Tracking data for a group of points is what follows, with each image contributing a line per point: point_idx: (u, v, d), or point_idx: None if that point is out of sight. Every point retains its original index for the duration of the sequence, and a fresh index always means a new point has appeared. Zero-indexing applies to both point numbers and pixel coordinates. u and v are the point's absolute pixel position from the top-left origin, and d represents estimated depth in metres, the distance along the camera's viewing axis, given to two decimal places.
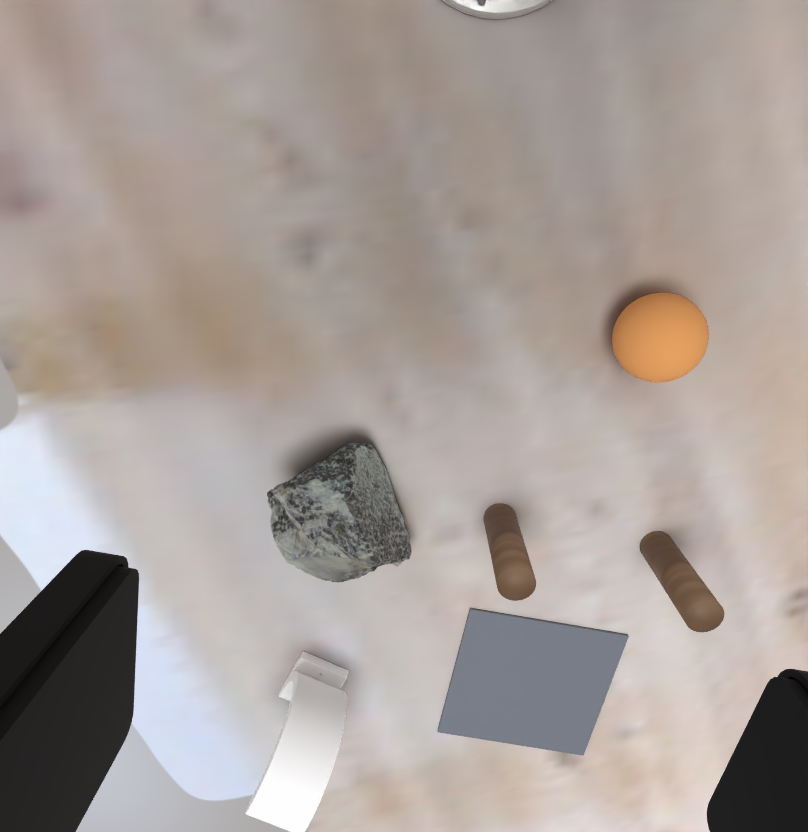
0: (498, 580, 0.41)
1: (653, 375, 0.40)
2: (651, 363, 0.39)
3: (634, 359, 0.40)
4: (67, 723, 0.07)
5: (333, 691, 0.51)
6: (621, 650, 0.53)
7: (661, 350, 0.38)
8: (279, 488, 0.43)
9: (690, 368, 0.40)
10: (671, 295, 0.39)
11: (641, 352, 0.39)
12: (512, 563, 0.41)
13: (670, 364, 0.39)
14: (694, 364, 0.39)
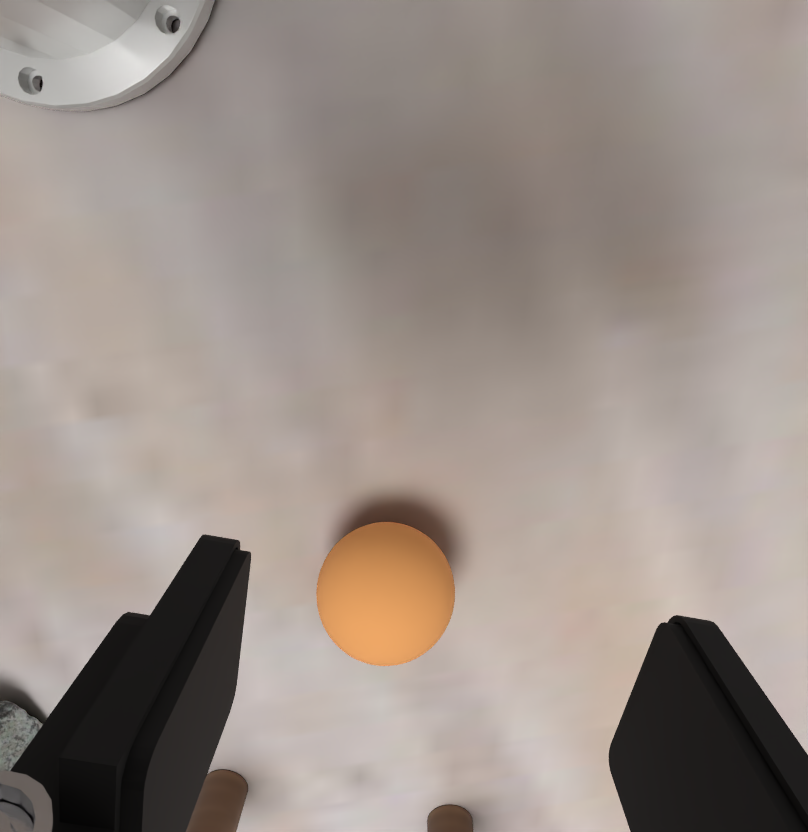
0: None
1: (364, 662, 0.25)
2: (352, 652, 0.25)
3: (333, 639, 0.25)
4: (208, 686, 0.08)
5: None
6: None
7: (360, 640, 0.24)
8: None
9: (419, 654, 0.25)
10: (388, 540, 0.25)
11: (336, 635, 0.25)
12: None
13: (379, 657, 0.24)
14: (424, 650, 0.25)
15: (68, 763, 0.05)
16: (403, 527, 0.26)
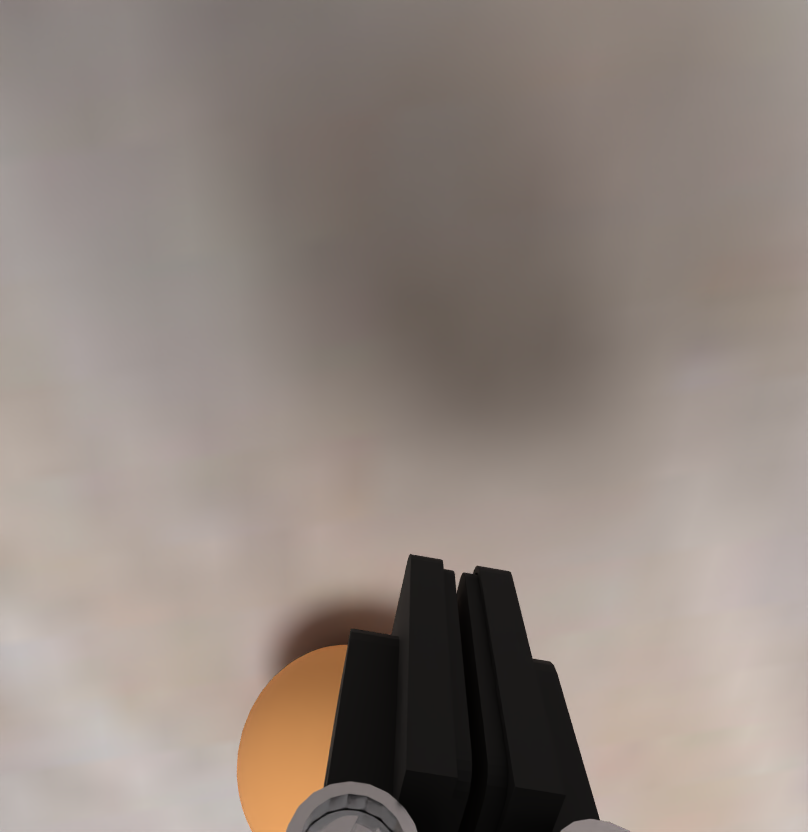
0: None
1: None
2: None
3: None
4: None
5: None
6: None
7: None
8: None
9: None
10: None
11: None
12: None
13: None
14: None
15: (413, 775, 0.06)
16: None
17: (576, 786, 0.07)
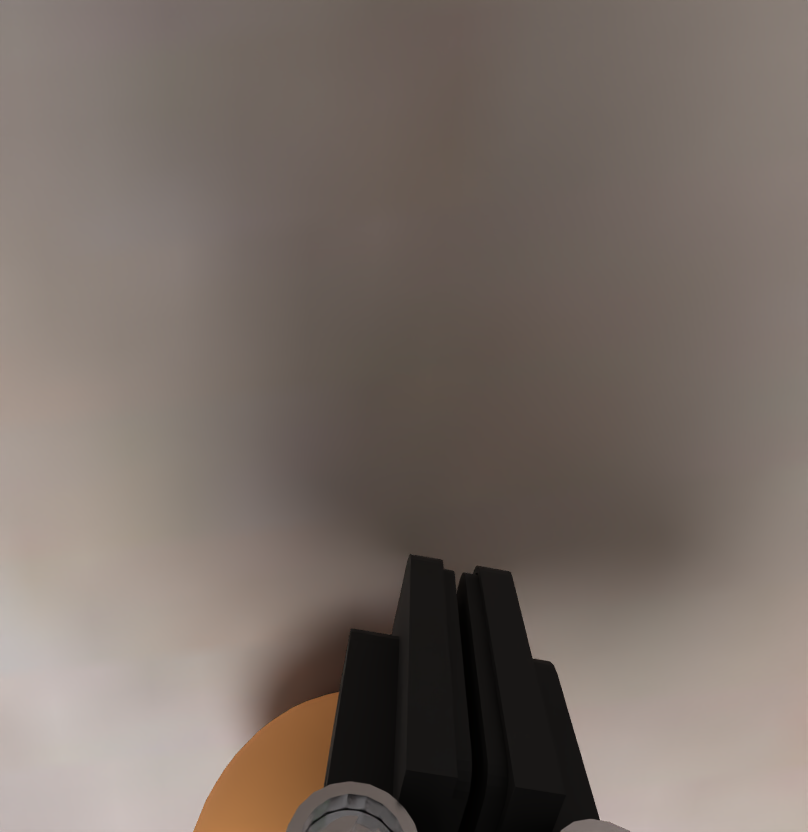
0: None
1: None
2: None
3: None
4: None
5: None
6: None
7: None
8: None
9: None
10: None
11: None
12: None
13: None
14: None
15: (413, 775, 0.06)
16: None
17: (577, 787, 0.07)
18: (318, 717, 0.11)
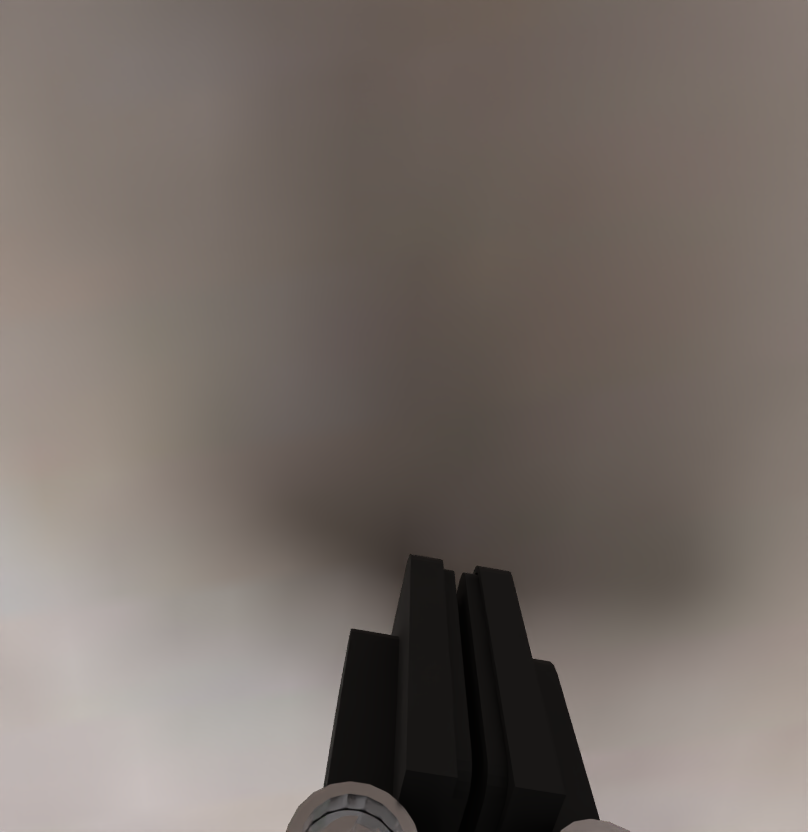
0: None
1: None
2: None
3: None
4: None
5: None
6: None
7: None
8: None
9: None
10: None
11: None
12: None
13: None
14: None
15: (412, 775, 0.06)
16: None
17: (577, 786, 0.07)
18: None
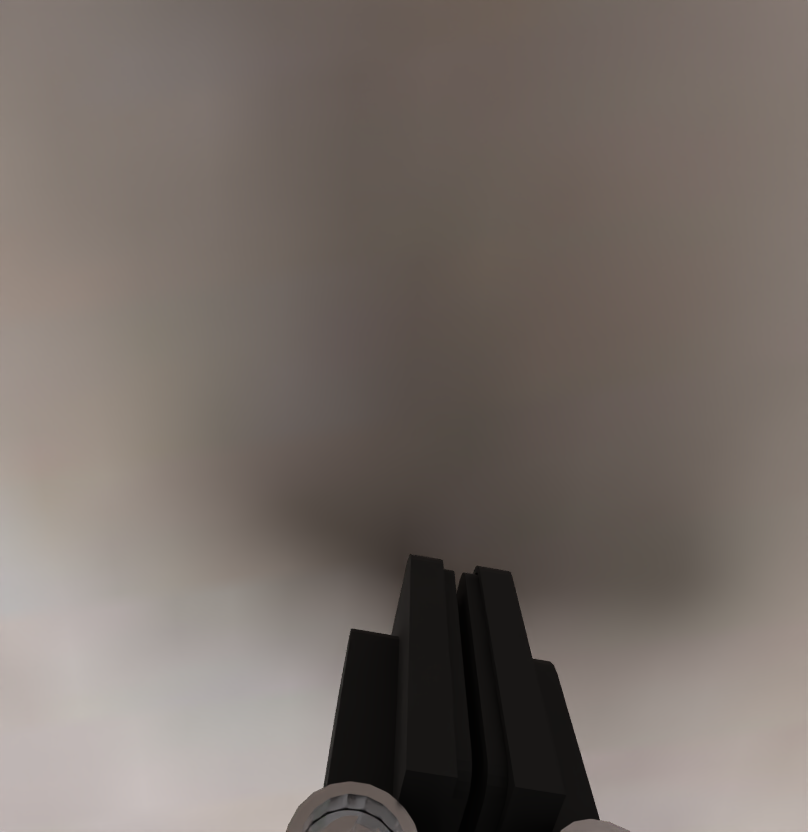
0: None
1: None
2: None
3: None
4: None
5: None
6: None
7: None
8: None
9: None
10: None
11: None
12: None
13: None
14: None
15: (412, 775, 0.06)
16: None
17: (577, 786, 0.07)
18: None
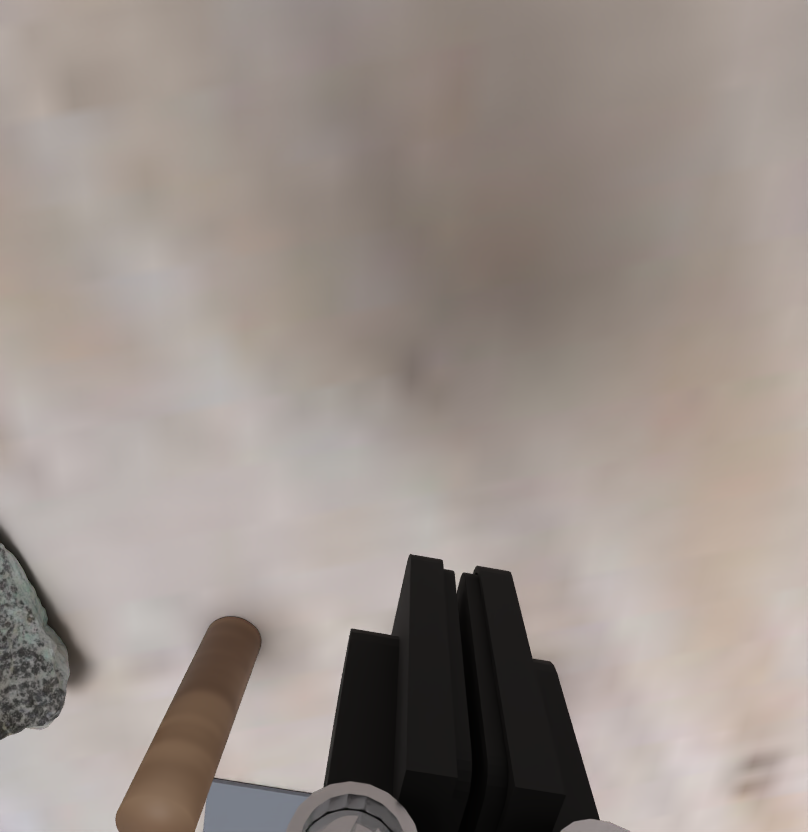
0: (117, 817, 0.20)
1: None
2: None
3: None
4: None
5: None
6: None
7: None
8: None
9: None
10: None
11: None
12: (147, 782, 0.20)
13: None
14: None
15: (413, 775, 0.06)
16: None
17: (577, 786, 0.07)
18: None
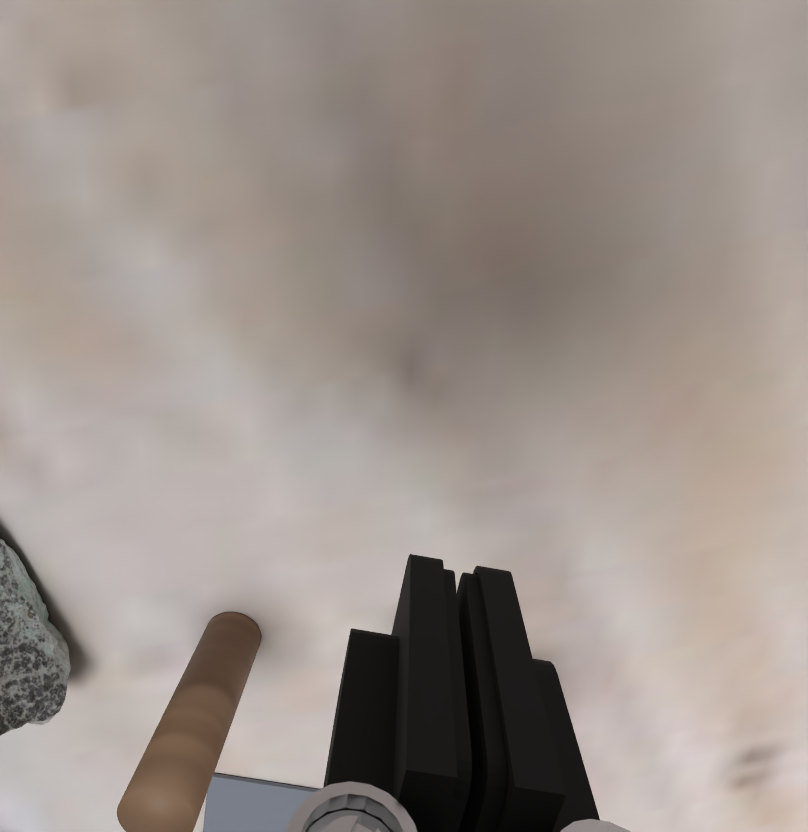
0: (119, 810, 0.20)
1: None
2: None
3: None
4: None
5: None
6: None
7: None
8: None
9: None
10: None
11: None
12: (148, 775, 0.20)
13: None
14: None
15: (413, 775, 0.06)
16: None
17: (577, 786, 0.07)
18: None
